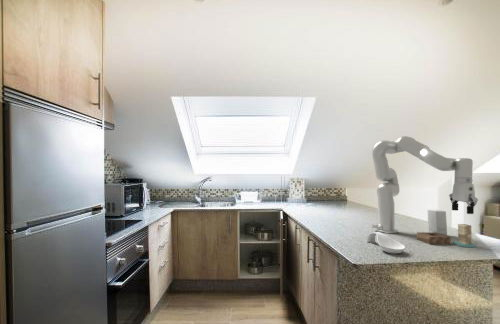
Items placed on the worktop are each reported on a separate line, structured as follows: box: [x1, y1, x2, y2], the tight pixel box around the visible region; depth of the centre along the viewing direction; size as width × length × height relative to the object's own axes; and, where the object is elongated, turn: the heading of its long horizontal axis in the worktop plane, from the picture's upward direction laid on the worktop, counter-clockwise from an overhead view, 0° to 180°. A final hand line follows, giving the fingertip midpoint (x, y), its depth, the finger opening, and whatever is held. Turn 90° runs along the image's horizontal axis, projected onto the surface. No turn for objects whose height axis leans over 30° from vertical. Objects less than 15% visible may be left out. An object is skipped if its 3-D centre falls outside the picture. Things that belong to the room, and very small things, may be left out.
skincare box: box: [427, 209, 448, 236], centre depth 163 cm, size 8×7×16 cm
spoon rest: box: [366, 231, 406, 255], centre depth 136 cm, size 24×12×7 cm, turn 9°
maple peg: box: [457, 223, 472, 244], centre depth 142 cm, size 4×4×10 cm
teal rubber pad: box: [453, 240, 476, 249], centre depth 142 cm, size 9×9×1 cm
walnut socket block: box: [416, 231, 452, 245], centre depth 148 cm, size 12×10×4 cm
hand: (462, 212), depth 143 cm, fingers open, 9 cm apart
